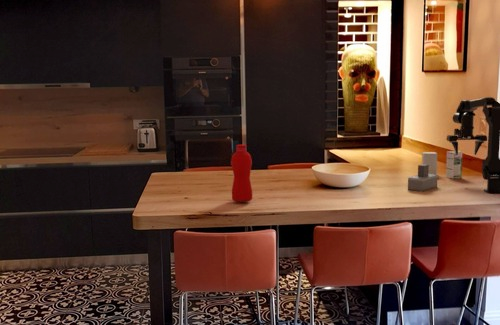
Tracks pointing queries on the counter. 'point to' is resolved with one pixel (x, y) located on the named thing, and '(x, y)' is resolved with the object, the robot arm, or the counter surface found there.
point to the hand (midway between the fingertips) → (466, 154)
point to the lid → (422, 173)
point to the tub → (422, 184)
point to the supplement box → (430, 161)
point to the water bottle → (241, 174)
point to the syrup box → (454, 165)
